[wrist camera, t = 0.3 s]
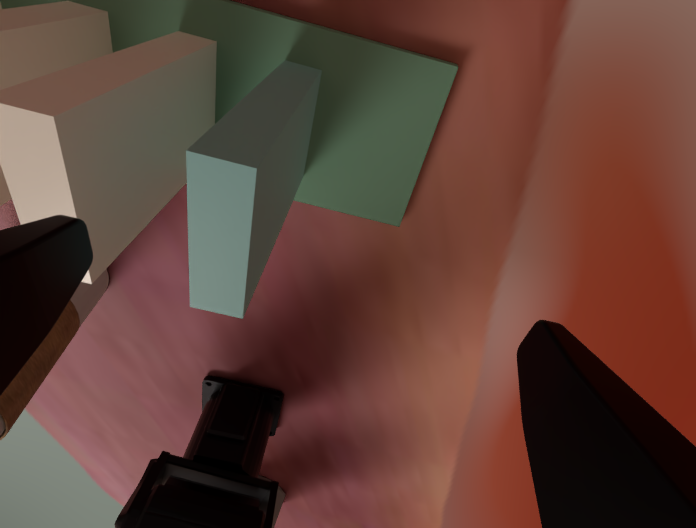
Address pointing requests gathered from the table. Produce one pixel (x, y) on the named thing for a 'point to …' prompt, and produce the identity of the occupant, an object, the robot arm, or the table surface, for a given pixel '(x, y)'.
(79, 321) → the coffee cup
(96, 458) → the table surface
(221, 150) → the domino
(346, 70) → the baize strip
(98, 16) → the domino
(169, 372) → the table surface
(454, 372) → the table surface
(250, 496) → the robot arm
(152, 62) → the domino
